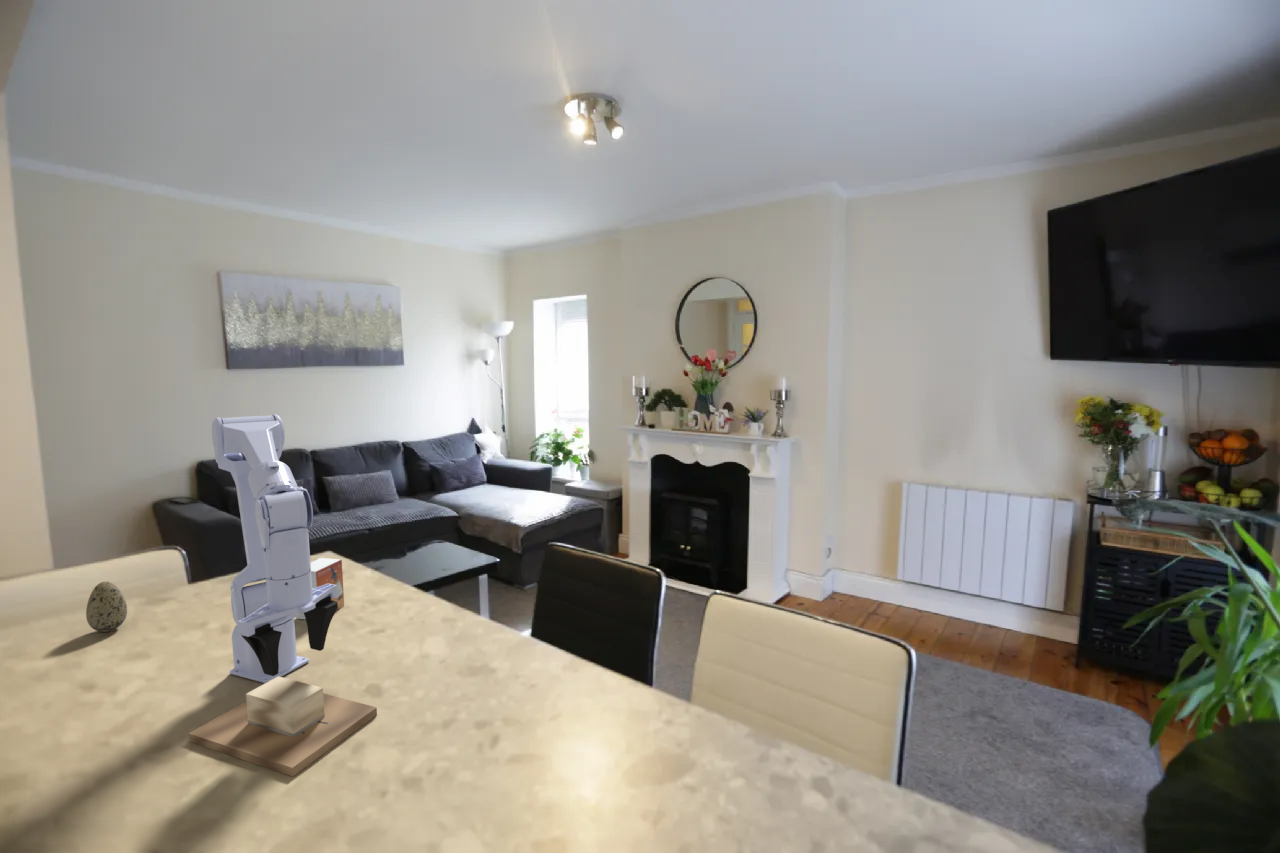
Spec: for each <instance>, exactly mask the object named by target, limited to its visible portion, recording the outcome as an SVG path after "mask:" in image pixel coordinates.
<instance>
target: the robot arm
mask: <svg viewBox="0 0 1280 853" xmlns="http://www.w3.org/2000/svg"><path fill="white" fill-rule="evenodd" d="M211 422H212V423H211V436H212V437H211V438H212V443H213V451H214V457H215V462H216V463H217V467H218V469H220V470H223V471H226V472H229V473H230V475H231V478H232V479H233V481H234V484H235V487H236V496H237V501H238V502H237V503H238V509H239V514H240V522H241V530H242V536H243V543H244V544H243V545H244V550H245V557H246V563H247V565H246V566H245V567H244V568H243V569H241V571H240V572H238V573H237V574H236V575H235V576H234V577H233V579H232V581H231V583H230V604H231V613H232V617H233V621H234V623H235V624H236V625H235V626H234V628H233V630H232V633H231V645H232V656H233V667H234V668H232V669H230V670H229V674H230V675H233V676H237V677H239V678H240V677H241V678H245V679H248V680H252V681H256V682H259V683H262V684H265V683H267V682H269V681H270V680H272V679H274V678H276V677H278V676H279V677H283V676H285V675H287V674H289V673H291V672H293V671H295V670H296V669H298V668H300V667H302V666H304V665H305V664H307V663H309V662H310V658H308V657H304V656H301V655H297V654H298V653H297V642H296V629H295V628H296V627H295V625H296V624H295V618H296V617H297V614H296V613H299V612H303V613H304V615H305V619H304V620H305V622H306V627H307V632H308V633H307V635H308V636H307V637H308V642H309V648H310V650H311V649H312V650H315V651H318V652H321V651H323V650H324V648H325V643H326V640H327V635H328V631H329V628H330V625H331V622H332V619H333V617H334V616H335V614H336V612H337V610H339V609H338V602H337V601H332V600H331V599H333V598H335V597H337V585H334V584H328V583H327V584H325V585H322V586H319V587H316V588H312V579H311V564H310V563H311V554H310V553H311V550H310V539H309V538H310V537H309V535H310V534H309V529H310V528H311V527H312V526H313V521H314V517H313V516H314V512H313V510H314V509H313V504H312V500H311V496H310V493H309V492H308V489H307V488H303V486H298V484H297V482H296V479H295V477H294V475H293V472H292V470H291V468H290V466H288V465H287V464H286V463H285V462H283V461H280V458H281V457H282V452H283V448H284V445H285V427H284V422H283V420H282V418H281V417H280V416H279V414H275V413H273V414H272V415H271V414H269V415H268V414H267V415H254V416H253V415H252V416H251V415H250V416H238V417H237V416H235V417H234V416H233V417H218V416H216V417H215V418H214V420H212V421H211ZM308 528H309V529H308ZM261 581H262V582H261ZM257 582H259V583H257ZM252 583H254V584H252ZM248 584H251V585H248Z"/></svg>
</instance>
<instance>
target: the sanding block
mask: <svg viewBox="0 0 1280 853" xmlns="http://www.w3.org/2000/svg"><path fill="white" fill-rule="evenodd" d="M323 693H324V688H323V687H321V686H317V685H313V684H311V683H306V682H301V681H298V680H296V679H295V680H294V679H290V678H286V677H283V676H282V677H279V676H278V677H276V678H274V679H272V680H270V681H269V682H267V683H262V684H261V685H260V686H258V687H256V688H254V689H252V690H250V691H249V692H247V693H245V699H246V702H247V713H248V723H249V724H252V725H255V726H259V727H262V728H265V729H268V730H272V731H275V732H278V733H282V734H285V735H288V736H291V737H295V736H297V735H298V734H300V733H301V732H303V731H304V730H306V729H307V728H309V727H310V726H312V725H313V724H315V723H316V722H318V721H319V720H321V719H322V718H324V717H325V713H324V698H323Z"/></svg>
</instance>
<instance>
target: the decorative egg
mask: <svg viewBox="0 0 1280 853" xmlns="http://www.w3.org/2000/svg"><path fill="white" fill-rule="evenodd" d="M89 595H90V596H89V598H88V600H87V604H86V609H85V610H86V611H85V615H86V616H85V617H86V621H87V623H88V624H87V625H89V627H90V628H91V629H93V631H97V632H99V633H100V632H101V633H108V632H111V631H114V630H116V629H118V628H119V627H121V625H122V624H124V622H125V620H126V618H127V615H128V605H127V602H126V599H125V597H124V594H123V593H122V591H121V590H120V589H119V587H117V585H116V584H114V583H112V582H110V581H102V582H100V583H98V584H97V585H95V587H94V588H93V589H92V591H91V593H90V594H89Z"/></svg>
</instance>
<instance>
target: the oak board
mask: <svg viewBox="0 0 1280 853" xmlns="http://www.w3.org/2000/svg"><path fill="white" fill-rule="evenodd" d="M323 698H324V713H325V717H324V718H322V719H321V720H319V721H318V722H316V723H315V724H313V725H312V726H310V727H309V728H307V729H306V730H304V731H303V732H301V733H300V734H298V735H297V736H295V737H291V736H288V735H285V734H282V733H278V732H275V731H272V730H268V729H265V728H262V727H259V726H255V725H252V724H249V723H248V713H247V702H246V701H244V702H242V703H240V704H239V705H236V706H235V707H233V708H231V709H228V710H227V711H225V712H224V713H222V714H221V715H219V716H217V717H215V718H213V719H211V720H209V721H207V722H206V723H204V724H202V725H201V726H198V727H197V728H196V729H193V730H192V731H190V732H188V741H189V742H191V743H193V744H196V745H200V746H202V747H204V748H208V749H210V750H215V751H217V752H220V753H223V754H226V755H229V756H231V757H234V758H238V759H241V760H244V761H246V762H248V763H249V762H250V763H252V764H256V765H258V766H260V767H264V768H266V769H270V770H273V771H276V772H279V773H282V774H284V775H288V776H291V777H294V776H296V775H297V774H299V773H300V772H301V771H302V770H304V769H306V767H308V766H310V765H311V764H312V763H313V762H315V761H316V760H318V759H319V758H320V757H322V756H323V755H325V754H326V753H327V752H328V751H330V750H331V749H333V748H335V746H336V745H338V744H339V743H341V742H342V741H344V740H345V739H346V738H348V737H349V736H350V735H351V734H353V733H354V732H356V731H357V730H358V729H360V728H361V727H362V726H364V725H366V723H368V722H370V721H371V720H372V719H373V718H375V717H376V716H378V711H377V710H378V709H377V706H372V705H370V704H365V703H361V702H357V701H354V700H350V699H347V698H343V697H338V696H336V695H335V696H334V695H331V694H327V693H324V692H323Z"/></svg>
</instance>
